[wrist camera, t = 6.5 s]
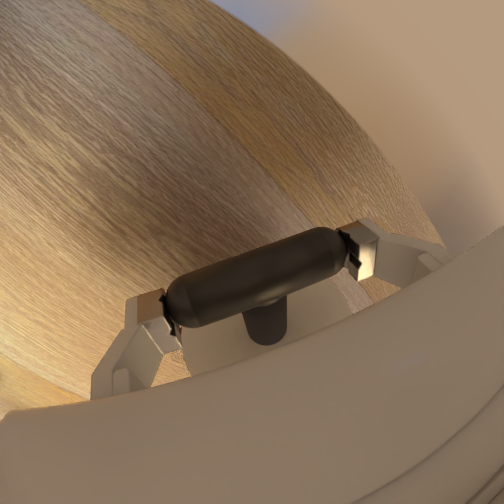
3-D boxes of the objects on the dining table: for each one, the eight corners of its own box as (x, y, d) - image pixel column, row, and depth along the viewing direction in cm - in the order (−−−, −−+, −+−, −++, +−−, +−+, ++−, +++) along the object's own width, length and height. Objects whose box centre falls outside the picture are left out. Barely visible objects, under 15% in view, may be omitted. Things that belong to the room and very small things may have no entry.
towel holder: (298, 338, 30) (334, 408, 24) (220, 368, 28) (249, 443, 23) (310, 162, 13) (438, 308, 7) (125, 222, 12) (158, 434, 6)
